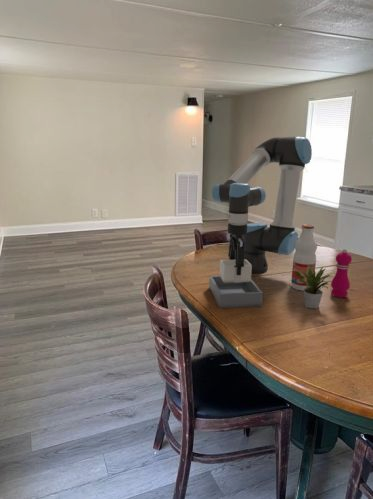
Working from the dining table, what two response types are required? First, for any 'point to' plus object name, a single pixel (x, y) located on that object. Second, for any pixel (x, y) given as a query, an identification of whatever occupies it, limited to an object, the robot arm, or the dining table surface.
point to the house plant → (314, 287)
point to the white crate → (229, 269)
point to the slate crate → (235, 293)
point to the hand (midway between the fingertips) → (234, 278)
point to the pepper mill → (341, 275)
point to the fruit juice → (303, 257)
